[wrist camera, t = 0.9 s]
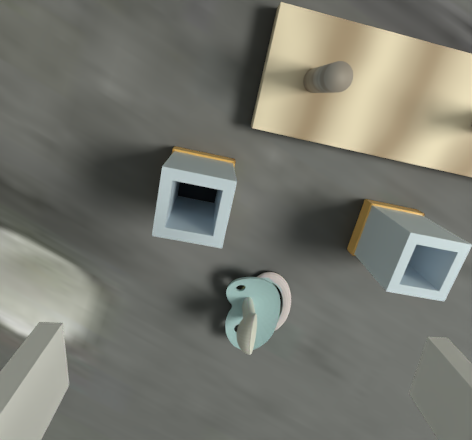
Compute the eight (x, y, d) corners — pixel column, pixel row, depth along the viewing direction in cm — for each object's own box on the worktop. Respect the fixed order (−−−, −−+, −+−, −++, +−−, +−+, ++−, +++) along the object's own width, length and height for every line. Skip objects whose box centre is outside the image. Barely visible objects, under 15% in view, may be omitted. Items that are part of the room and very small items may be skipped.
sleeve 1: (165, 203, 28) (149, 237, 21) (174, 146, 26) (159, 163, 19) (222, 214, 28) (223, 250, 22) (234, 158, 27) (240, 179, 20)
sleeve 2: (346, 249, 30) (383, 292, 23) (364, 198, 28) (409, 230, 22) (396, 258, 30) (445, 303, 24) (416, 209, 29) (475, 243, 22)
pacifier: (293, 264, 30) (225, 265, 30) (313, 305, 24) (230, 306, 24) (286, 332, 33) (224, 333, 32) (303, 383, 27) (227, 386, 26)
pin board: (250, 126, 26) (260, 135, 20) (277, 7, 23) (298, -24, 17) (485, 179, 28) (558, 202, 22) (533, 76, 26) (632, 70, 19)
